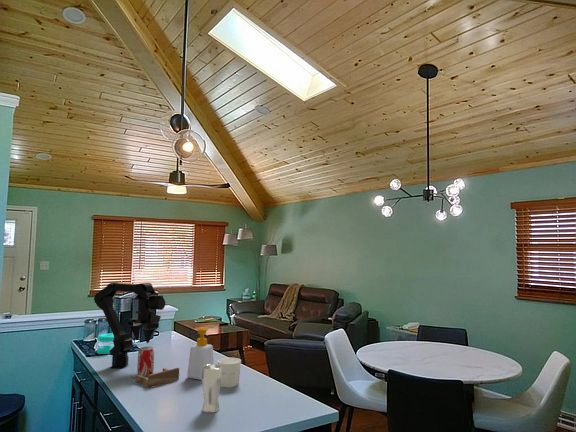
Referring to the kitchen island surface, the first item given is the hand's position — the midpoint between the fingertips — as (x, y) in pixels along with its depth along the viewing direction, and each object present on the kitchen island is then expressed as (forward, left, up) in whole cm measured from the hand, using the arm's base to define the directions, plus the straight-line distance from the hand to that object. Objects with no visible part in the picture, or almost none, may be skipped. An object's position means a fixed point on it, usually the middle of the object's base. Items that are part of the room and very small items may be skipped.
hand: (142, 341), depth 193 cm
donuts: (-30, +30, -13) cm, 45 cm away
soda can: (+6, -11, -13) cm, 18 cm away
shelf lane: (+13, -18, -13) cm, 26 cm away
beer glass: (+42, -50, -13) cm, 67 cm away
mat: (+5, -11, -13) cm, 18 cm away
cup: (+45, -22, -13) cm, 52 cm away
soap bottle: (+32, -10, -13) cm, 36 cm away
